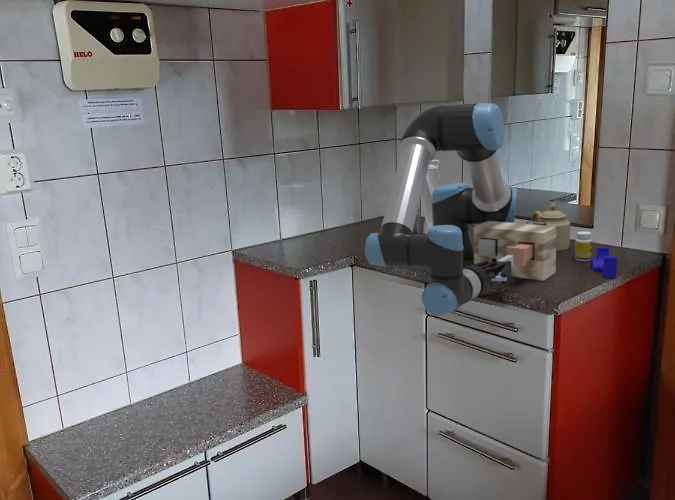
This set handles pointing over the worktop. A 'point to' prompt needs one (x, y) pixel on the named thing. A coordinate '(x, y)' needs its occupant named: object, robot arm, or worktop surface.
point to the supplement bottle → (583, 246)
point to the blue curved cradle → (604, 263)
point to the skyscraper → (428, 197)
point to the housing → (515, 235)
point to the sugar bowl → (556, 220)
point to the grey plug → (488, 247)
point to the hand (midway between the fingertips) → (510, 260)
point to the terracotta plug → (521, 253)
